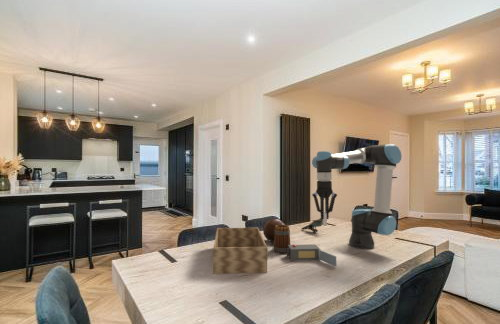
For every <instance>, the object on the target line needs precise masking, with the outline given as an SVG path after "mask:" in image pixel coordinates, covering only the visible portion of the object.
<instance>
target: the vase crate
mask: <svg viewBox="0 0 500 324" xmlns="http://www.w3.org/2000/svg"><path fill="white" fill-rule="evenodd" d="M212 250H213V253H212V256H213V257H212V261H213V263H212V274H214V275H216V274H217V275H218V274H219V275H220V274H223V275H224V274H254V273H255V274H257V273H259V274H261V273H268V246H267V243H266V242H265V239H264V237H263V235H262V232H261V231H260V229H259V227H217V228H216V232H215V237H214V244H213V249H212Z"/></svg>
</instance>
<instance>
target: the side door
mask: <svg viewBox="0 0 500 324" xmlns="http://www.w3.org/2000/svg"><path fill="white" fill-rule="evenodd" d="M317 261H322V262H324V263H326V264H327V265H328V264H329V265H331V266H333V267H337V256H336V255H334V254H332V253H329V252H327V251H324V250H322V249H321V248H320V249H319V257H318V260H317Z"/></svg>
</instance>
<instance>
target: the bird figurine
mask: <svg viewBox="0 0 500 324" xmlns="http://www.w3.org/2000/svg"><path fill="white" fill-rule="evenodd" d="M322 226H324V225H323V219H321V217H320V218H318V219H316V220H313V221H312V222H311V223H309V224H308V225H305V226H303V227H301V230H302V231H305V230H310V231H312V232H313V233H314V234H316V233H317V232H319V231H318V229H317V227H318V228H319V227H322Z"/></svg>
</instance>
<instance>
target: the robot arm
mask: <svg viewBox="0 0 500 324" xmlns="http://www.w3.org/2000/svg"><path fill="white" fill-rule="evenodd" d="M402 157H403V156H402V151H401V149H400V148H399V147H398V145H396V144H392V143H390V144H389V143H388V144H387V143H386V144H379V145H377V144H376V145H369V146H366V147H361V148H357V149H355V150H353V151H344V152H339V153H332V152H331V151H327V150H324V151H323V150H322V151H317V153H316V156H314V157H312V160H311V164H312V167H314V169H316V180H317V181H316V190H315V192H314V193H311V197H313V199H314V204H315V208H316V211H317V212H318V213H320V218H321V219H323V225H322V226H323V227H327V225H328V222H327V221H328V220H329V217H330V216H329V214H330V213H332V212H333V208H334V204H335V200H336V198H337V197H338V194H337V193H335V192H333V187H332V185H333V184H332V183H333V182H332V181H331V180H332V179H333V178H332V176H333V175H332V174H333V173H332V171H333V170H344V169H347V168H348V167H349V166H350V165H351V164H352V165H353V164H374V167H375V168H376V179H375V190H374V191H375V192H374V204H373V208H372V209H367V208H365V209H364V208H362V209H361V208H360V209H353V210H352V211H351V213H352V214H351V234H350V236H349V237H350V238H349V239H348V244H349V245H350V247H353V248H356V249H357V248H358V249H361V250H363V249H364V250H369V249H374V248H375V241H374V239H373V235H372V233H375V234H379V235H380V236H390V235H392V234H393V233H394V232H395V230H396V228H397V220H396V218H395V217H394V216H393V212H392V211H391V200H392V199H391V198H392V197H391V196H392V184H393V173H394V171H393V170H394V169H396V168H397V165H398V164H399V163H401V161H402ZM318 196H319V199H320V203H319V200H318ZM330 197H331V199H330ZM329 200H330V203H329ZM349 245H348V246H349Z"/></svg>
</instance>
